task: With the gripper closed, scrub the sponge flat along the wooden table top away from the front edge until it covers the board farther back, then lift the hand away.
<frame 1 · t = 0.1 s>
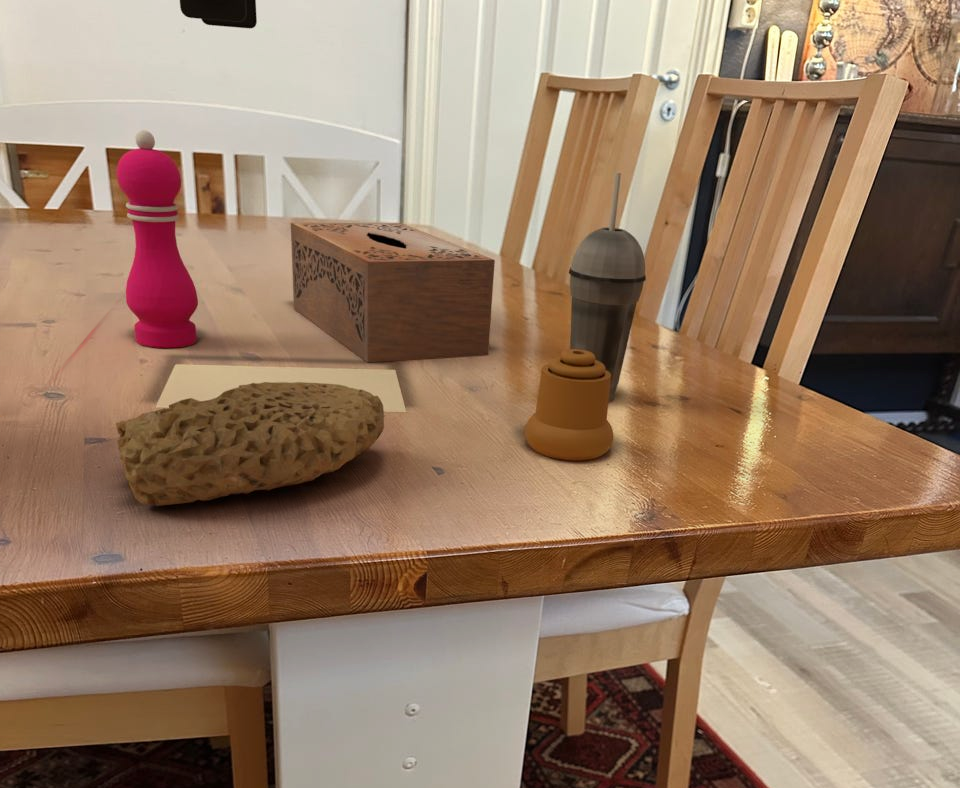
hand: (222, 23, 51), 28 cm above the table, tool pointing down, fingers open, 9 cm apart
beverage cup: (591, 398, 93), on the table
tissue box cover: (385, 332, 111), on the table
board: (285, 387, 89), on the table
sponge: (265, 480, 69), on the table
pepper mill: (167, 343, 100), on the table
ornamental finial: (567, 449, 79), on the table
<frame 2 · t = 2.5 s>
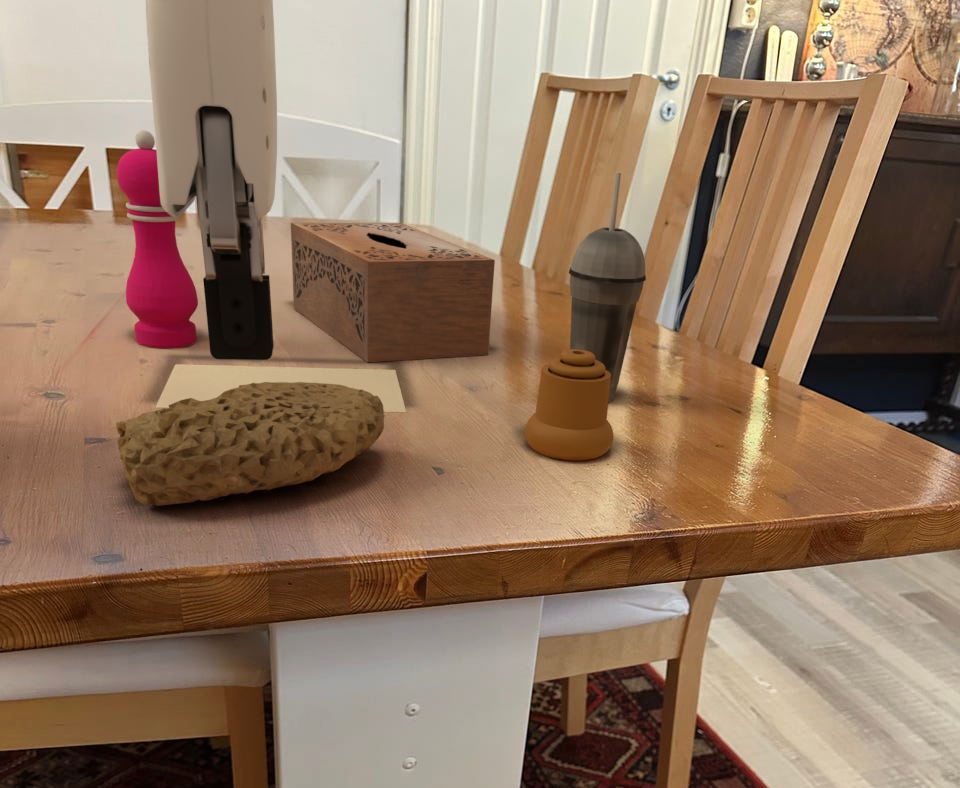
hand: (242, 354, 50), 13 cm above the table, tool pointing down, fingers closed
nothing on the table moved.
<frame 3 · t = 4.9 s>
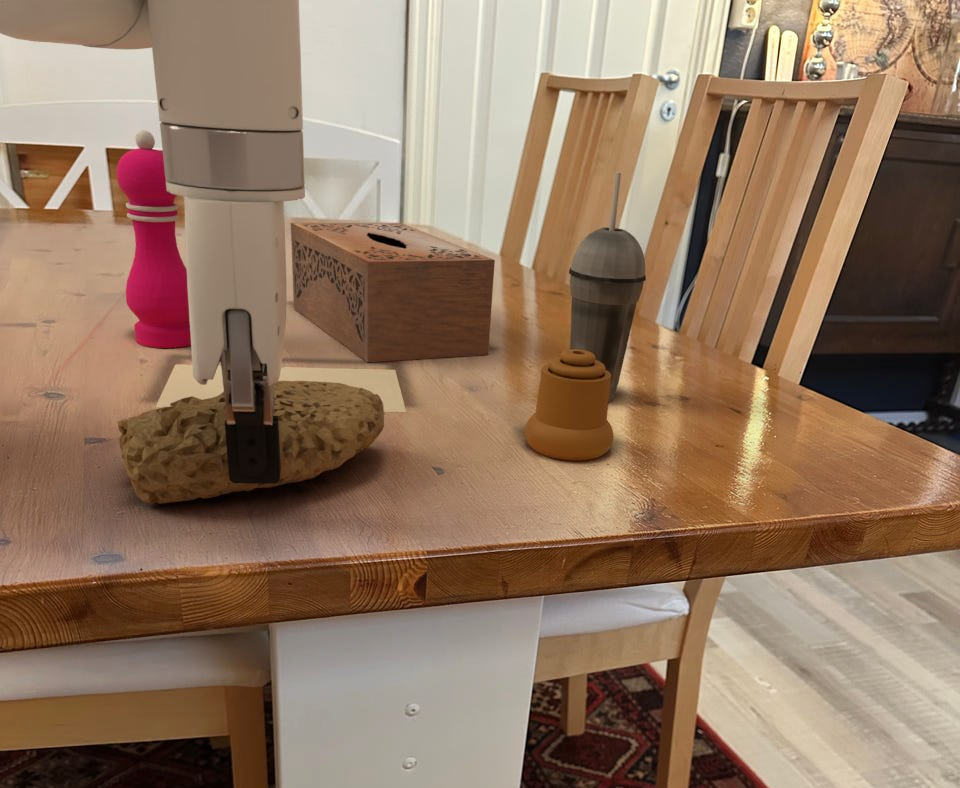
hand: (255, 478, 61), 3 cm above the table, tool pointing down, fingers closed
sponge: (266, 478, 69), on the table, touching gripper
everything else where it was.
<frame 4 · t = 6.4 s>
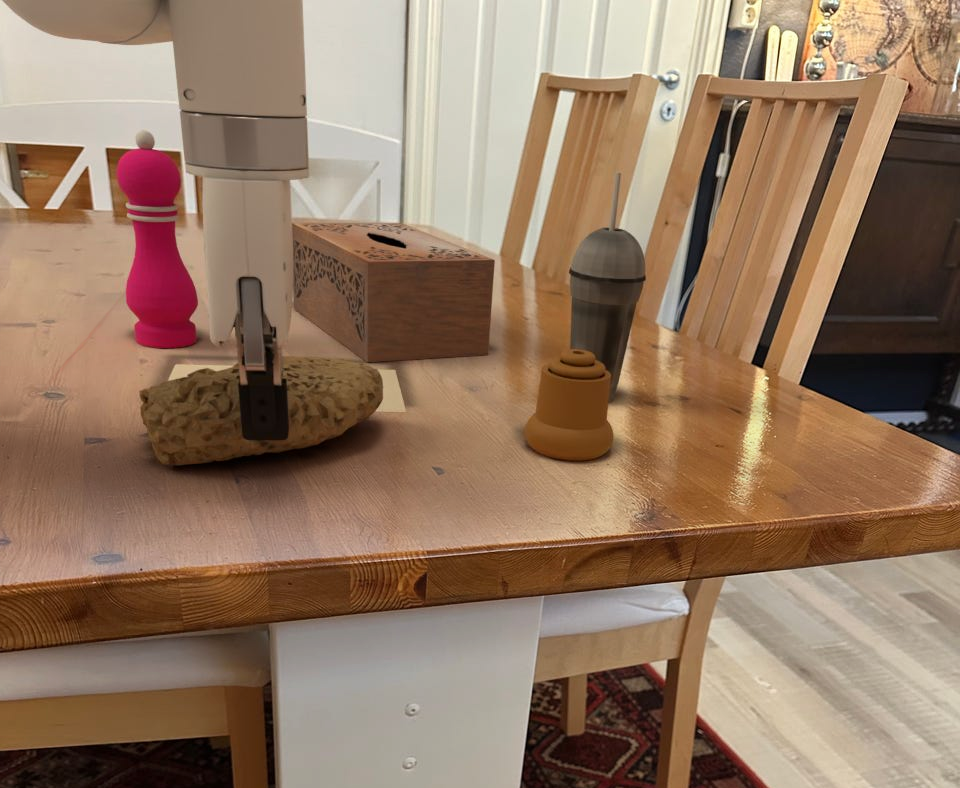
hand: (266, 436, 67), 3 cm above the table, tool pointing down, fingers closed
sponge: (274, 445, 75), on the table, touching gripper
everything else where it was.
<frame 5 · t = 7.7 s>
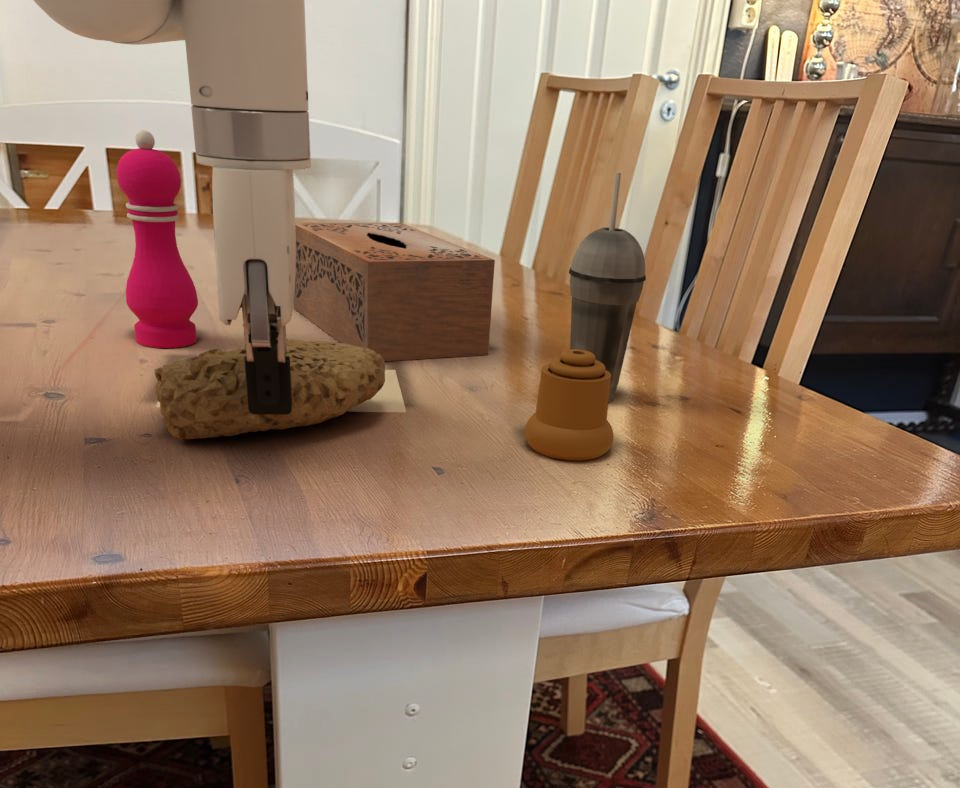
hand: (270, 410, 71), 4 cm above the table, tool pointing down, fingers closed
sponge: (280, 423, 80), on the table, touching gripper
everything else where it was.
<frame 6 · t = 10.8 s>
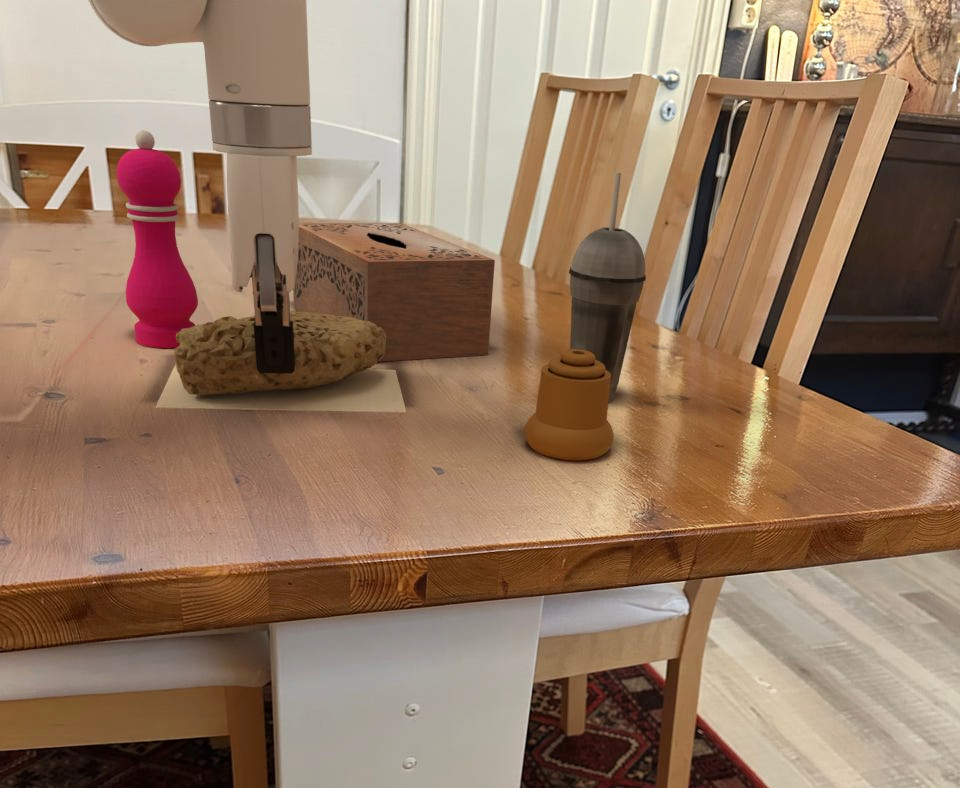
hand: (276, 370, 81), 4 cm above the table, tool pointing down, fingers closed
sponge: (287, 386, 89), on the table, touching gripper, board
everything else where it was.
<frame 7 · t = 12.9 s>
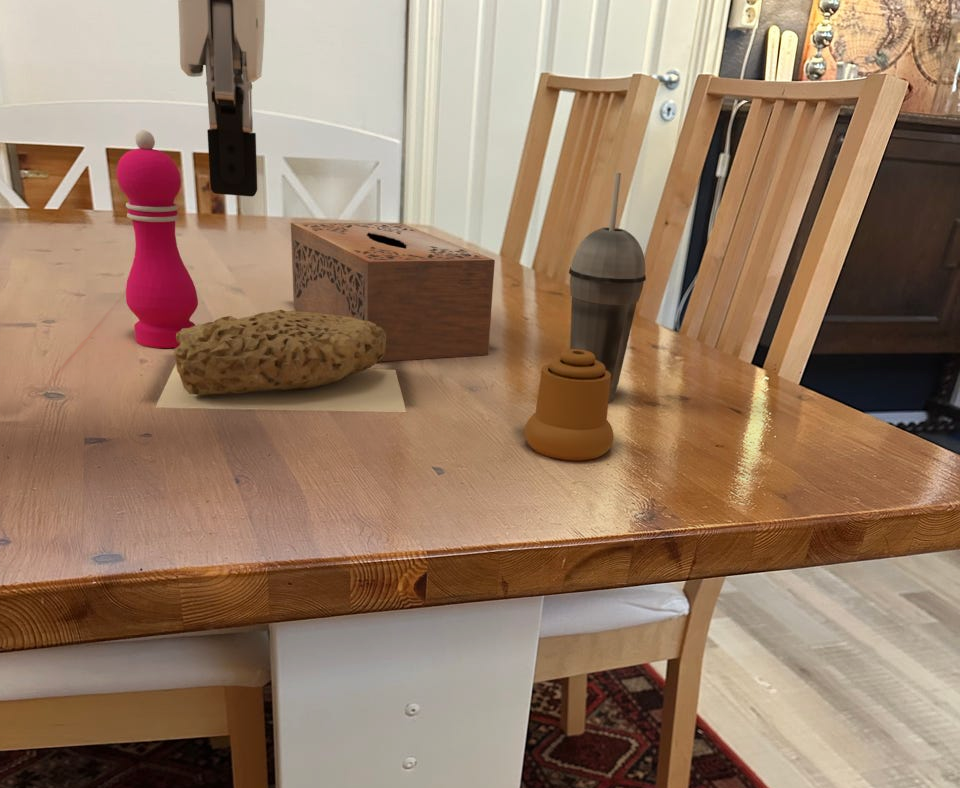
hand: (234, 193, 67), 18 cm above the table, tool pointing down, fingers closed
sponge: (287, 386, 89), on the table, touching board
everything else where it was.
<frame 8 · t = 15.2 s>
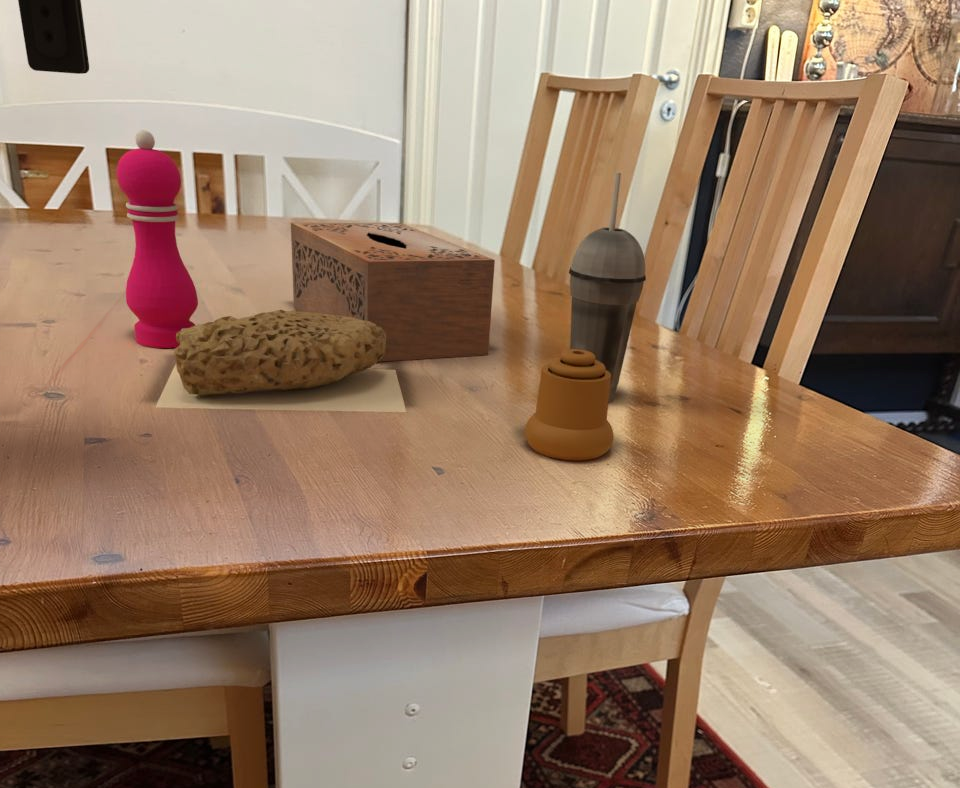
hand: (60, 71, 57), 25 cm above the table, tool pointing down, fingers closed
nothing on the table moved.
at the end: sponge inside the target area on the board (0.8 cm from its centre), point 0.0 cm above the board's base; sponge moved 24.1 cm from its start; sponge tilted 0° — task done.
